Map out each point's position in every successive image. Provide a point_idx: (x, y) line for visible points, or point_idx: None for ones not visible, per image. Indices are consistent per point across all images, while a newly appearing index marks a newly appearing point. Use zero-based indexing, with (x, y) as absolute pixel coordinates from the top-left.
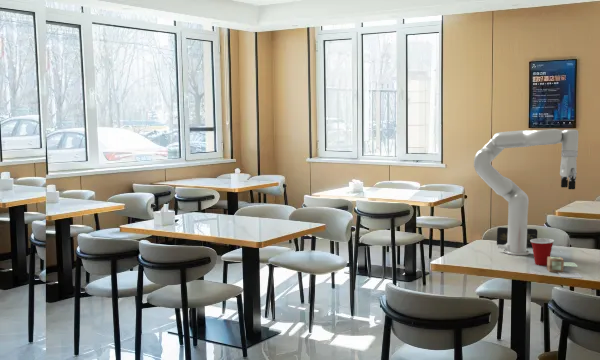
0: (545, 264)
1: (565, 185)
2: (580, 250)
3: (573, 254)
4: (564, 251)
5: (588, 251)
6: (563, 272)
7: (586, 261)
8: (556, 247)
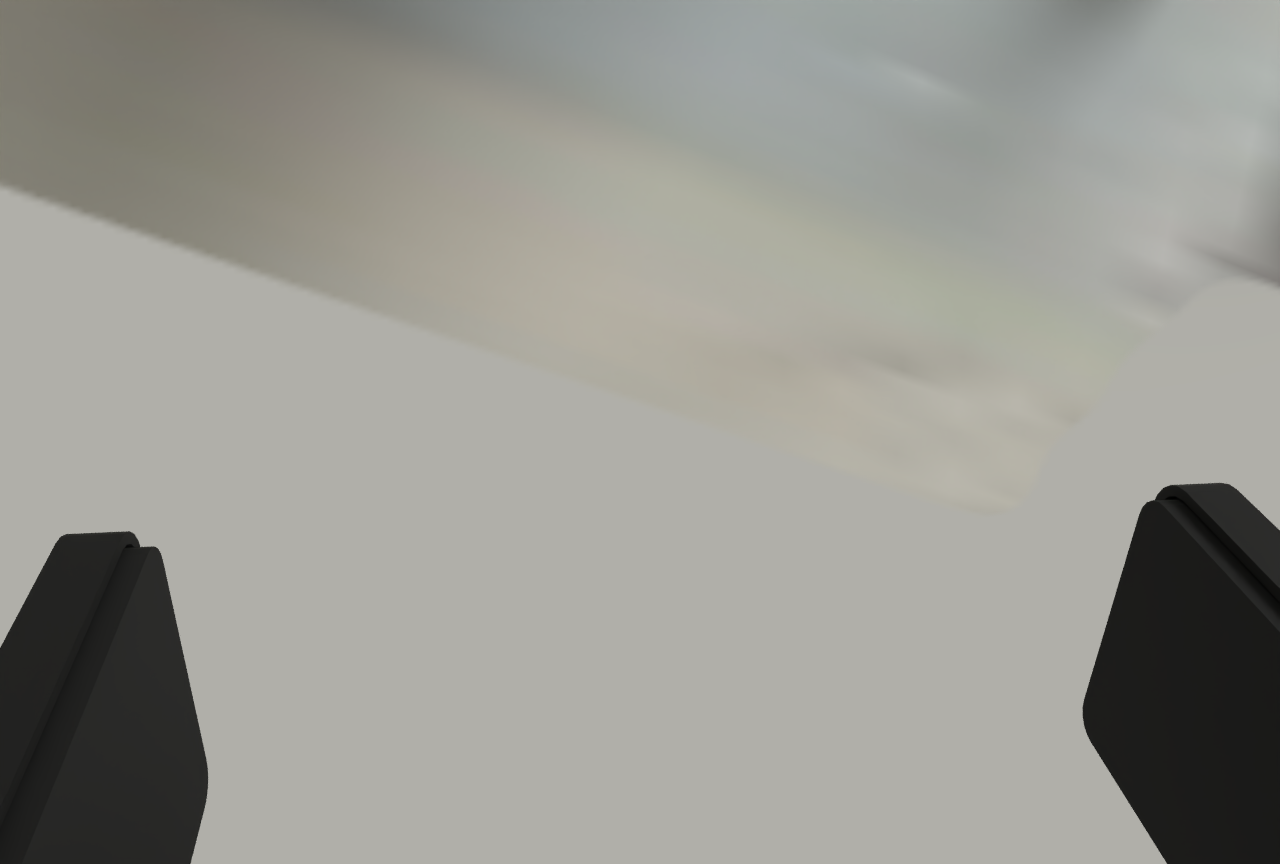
0: None
1: (1142, 705)
2: (951, 358)
3: (705, 182)
4: (904, 138)
5: (886, 424)
6: None
7: (247, 177)
8: (1173, 133)
